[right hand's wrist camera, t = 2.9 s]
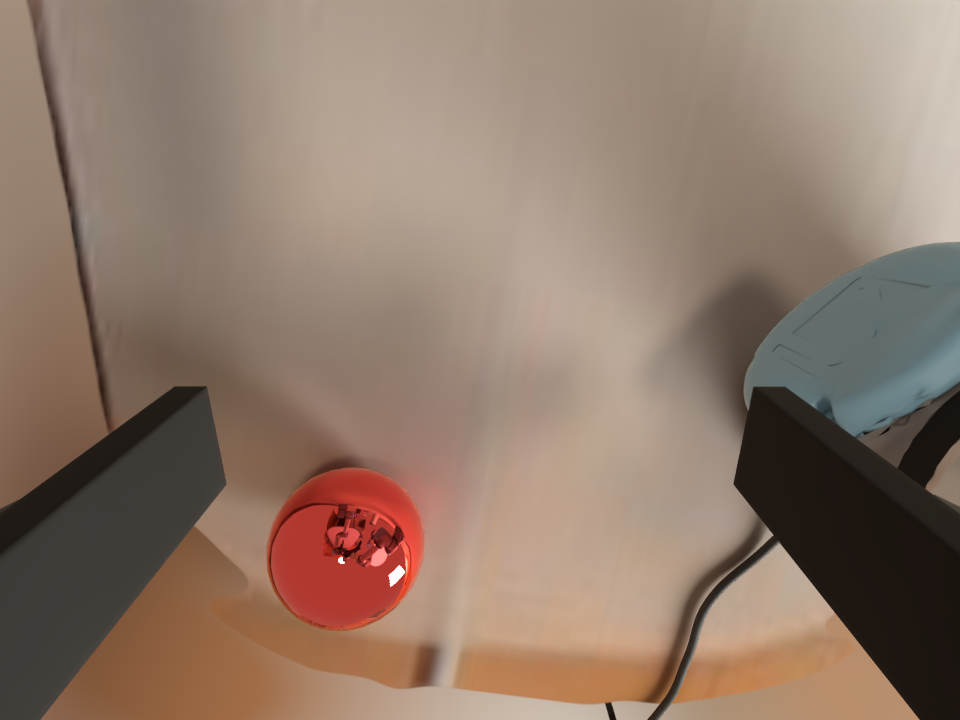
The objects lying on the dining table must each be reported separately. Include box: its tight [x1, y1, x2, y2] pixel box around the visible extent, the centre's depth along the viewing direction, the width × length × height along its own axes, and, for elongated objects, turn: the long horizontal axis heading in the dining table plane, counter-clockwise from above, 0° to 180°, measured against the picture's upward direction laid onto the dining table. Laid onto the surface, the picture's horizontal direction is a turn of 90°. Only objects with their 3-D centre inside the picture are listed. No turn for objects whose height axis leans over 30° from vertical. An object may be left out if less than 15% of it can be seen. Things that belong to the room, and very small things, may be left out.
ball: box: [266, 467, 425, 631], centre depth 41 cm, size 12×12×12 cm
